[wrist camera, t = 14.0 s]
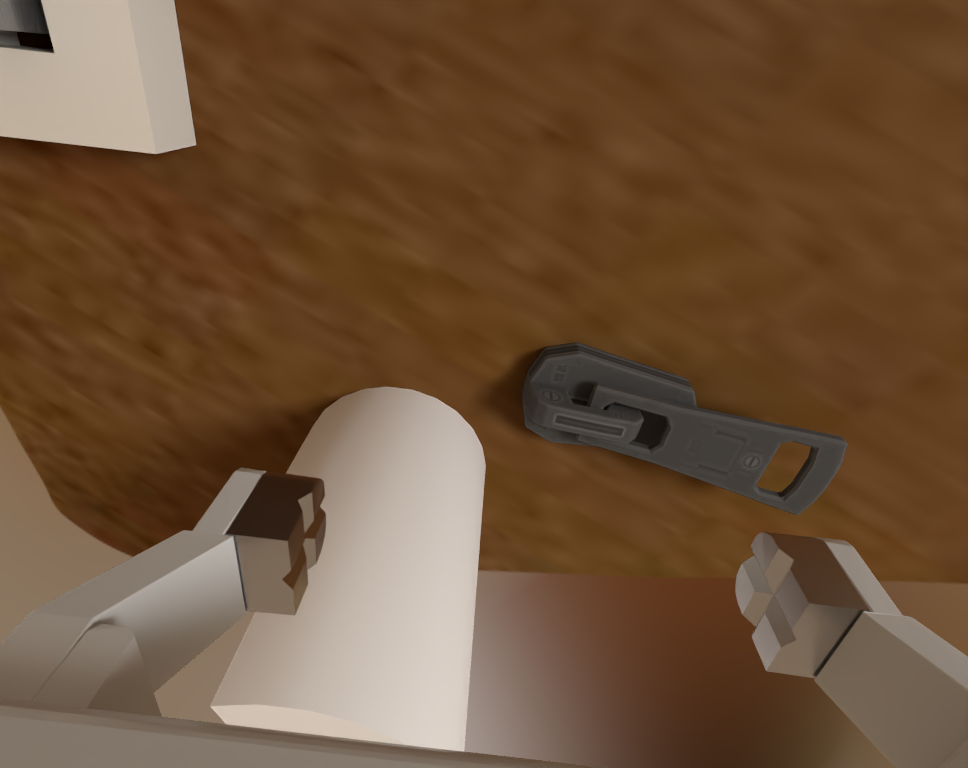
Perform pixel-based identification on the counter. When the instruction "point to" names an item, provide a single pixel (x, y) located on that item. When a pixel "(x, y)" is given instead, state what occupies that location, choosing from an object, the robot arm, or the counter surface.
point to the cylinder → (376, 583)
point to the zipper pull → (667, 425)
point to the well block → (99, 78)
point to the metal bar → (23, 16)
